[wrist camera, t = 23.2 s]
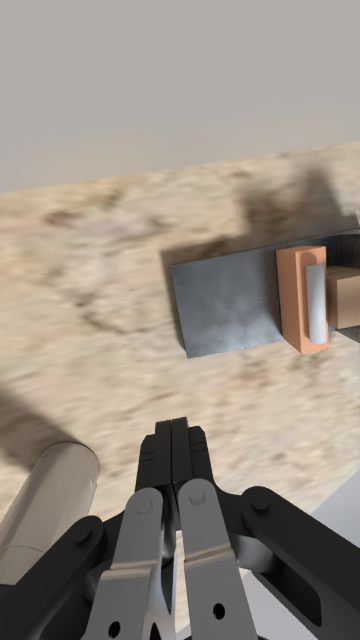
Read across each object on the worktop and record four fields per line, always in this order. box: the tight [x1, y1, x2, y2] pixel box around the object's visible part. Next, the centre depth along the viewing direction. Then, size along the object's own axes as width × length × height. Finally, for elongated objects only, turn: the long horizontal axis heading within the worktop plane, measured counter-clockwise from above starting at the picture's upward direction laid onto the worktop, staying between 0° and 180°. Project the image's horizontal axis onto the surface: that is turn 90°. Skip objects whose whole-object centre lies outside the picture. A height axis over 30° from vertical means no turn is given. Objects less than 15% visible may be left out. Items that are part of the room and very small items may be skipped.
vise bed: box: [169, 228, 360, 359], centre depth 31 cm, size 12×24×8 cm, turn 101°
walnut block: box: [326, 266, 360, 329], centre depth 29 cm, size 5×4×7 cm
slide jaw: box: [276, 246, 328, 354], centre depth 29 cm, size 11×3×6 cm, turn 11°
